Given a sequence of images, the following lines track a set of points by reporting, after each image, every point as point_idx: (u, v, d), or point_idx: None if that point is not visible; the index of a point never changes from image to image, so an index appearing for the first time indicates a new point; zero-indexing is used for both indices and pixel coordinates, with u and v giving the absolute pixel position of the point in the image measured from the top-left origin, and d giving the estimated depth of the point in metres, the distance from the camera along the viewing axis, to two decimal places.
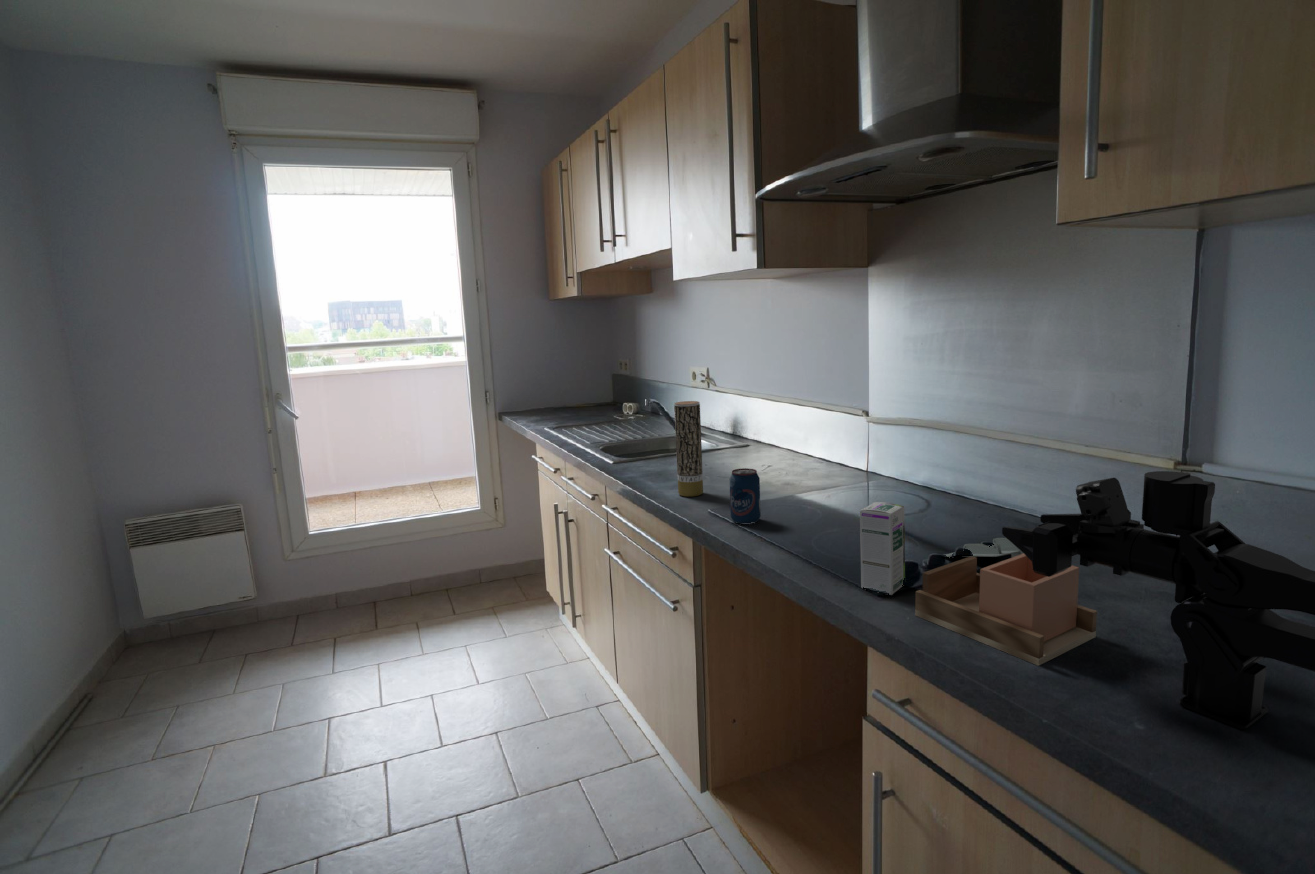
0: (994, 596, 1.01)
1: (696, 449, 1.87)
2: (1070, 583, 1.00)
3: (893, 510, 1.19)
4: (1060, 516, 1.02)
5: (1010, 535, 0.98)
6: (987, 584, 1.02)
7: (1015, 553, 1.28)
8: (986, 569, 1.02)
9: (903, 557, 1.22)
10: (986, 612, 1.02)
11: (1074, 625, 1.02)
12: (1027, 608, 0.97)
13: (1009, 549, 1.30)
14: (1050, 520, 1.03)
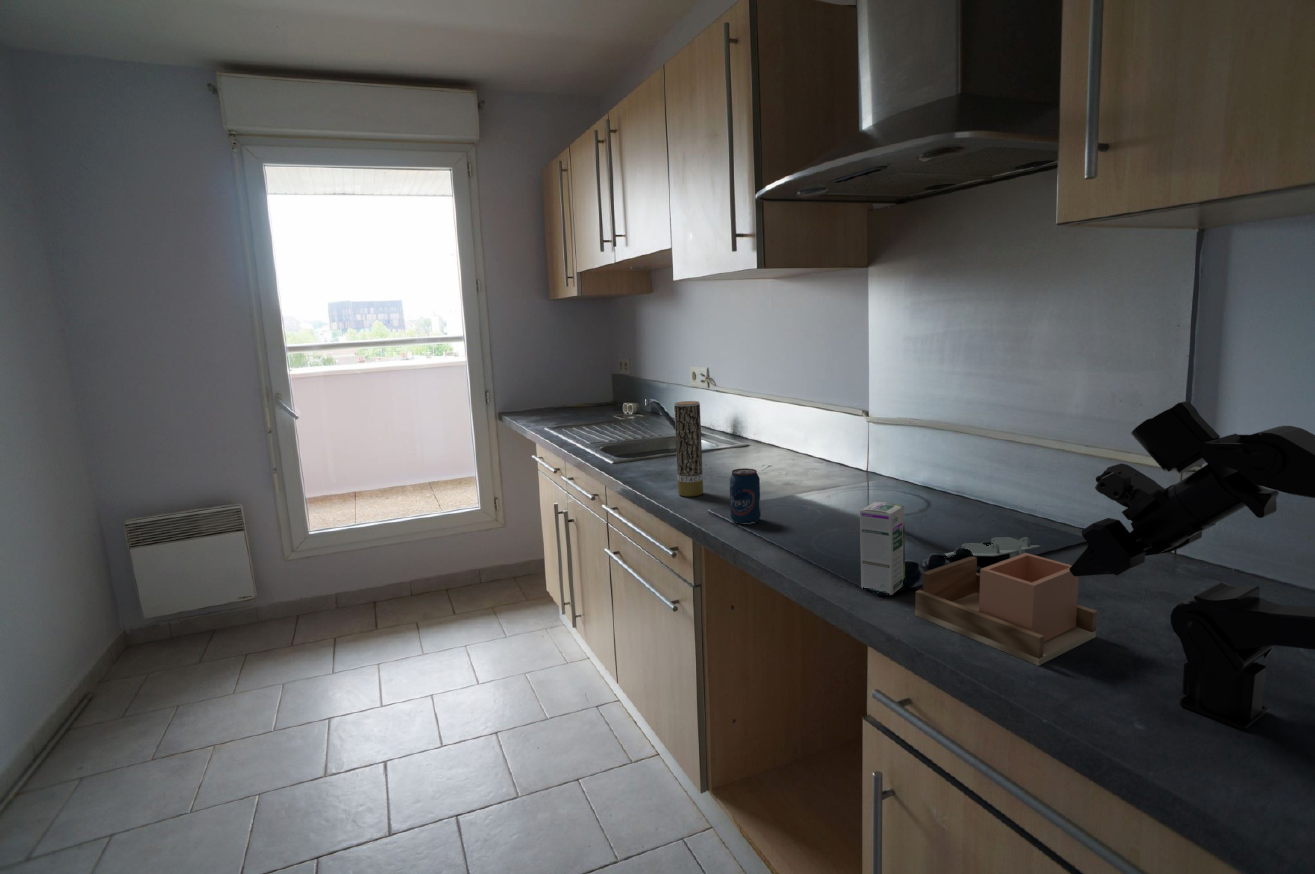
0: (994, 596, 1.01)
1: (696, 449, 1.87)
2: (1070, 583, 1.00)
3: (893, 510, 1.19)
4: None
5: (1079, 569, 0.90)
6: (987, 584, 1.02)
7: (1013, 552, 1.28)
8: (986, 569, 1.02)
9: (903, 557, 1.22)
10: (986, 612, 1.02)
11: (1074, 625, 1.02)
12: (1027, 608, 0.97)
13: (1007, 548, 1.30)
14: None
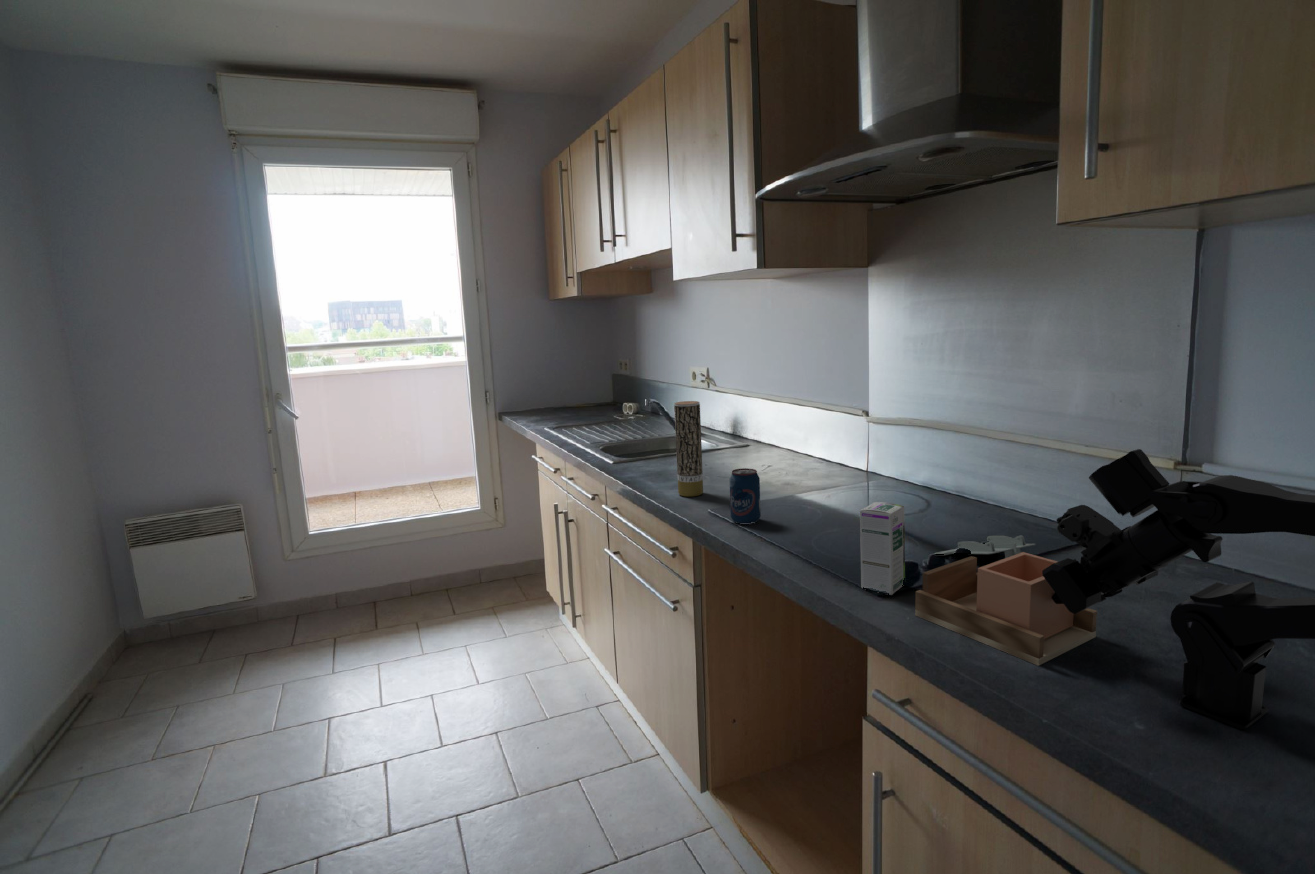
0: (991, 595, 1.01)
1: (696, 449, 1.87)
2: None
3: (893, 510, 1.19)
4: None
5: None
6: (984, 583, 1.02)
7: (1008, 551, 1.29)
8: (983, 568, 1.02)
9: (903, 557, 1.22)
10: (983, 611, 1.03)
11: (1071, 624, 1.03)
12: (1024, 607, 0.97)
13: (1002, 547, 1.31)
14: None
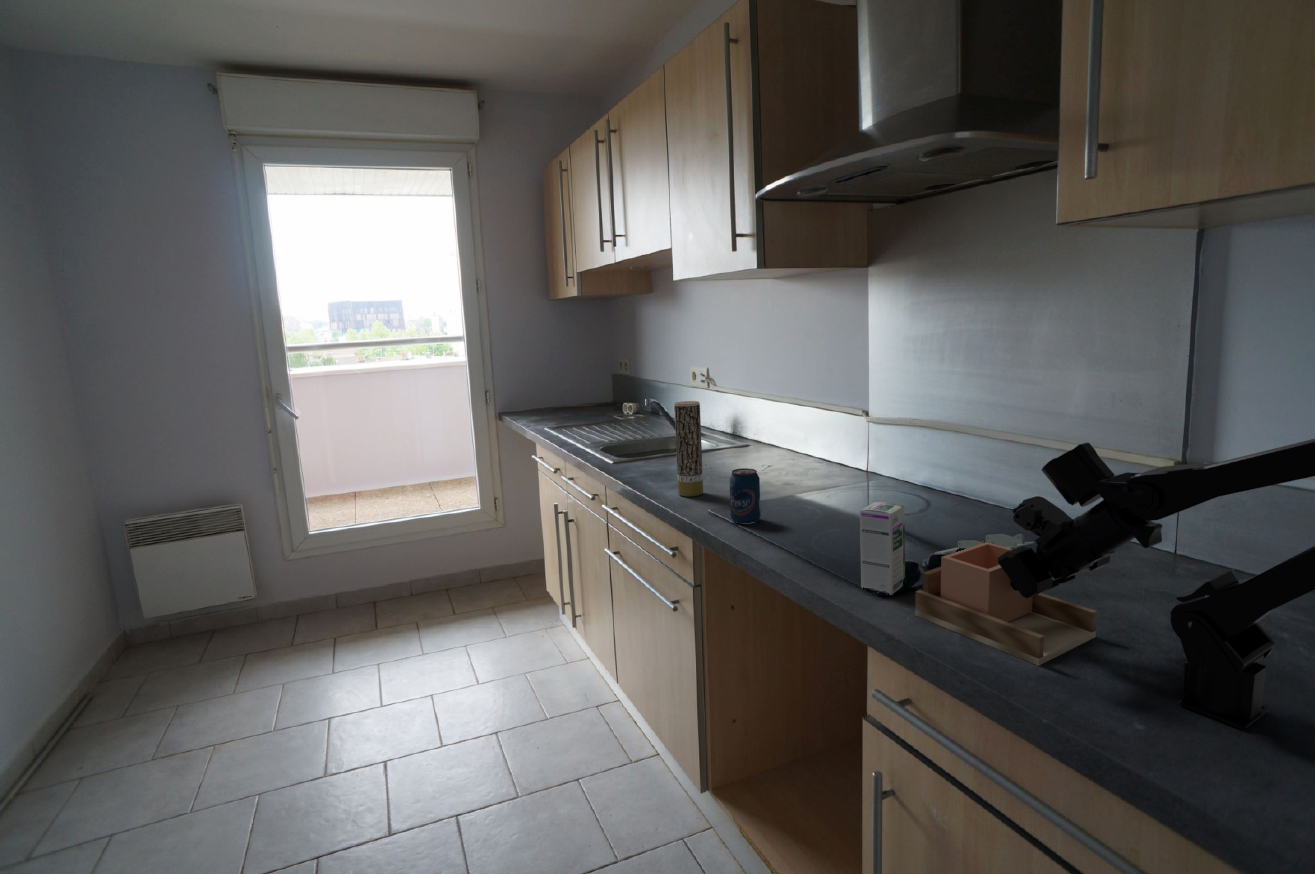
0: (954, 582, 1.07)
1: (696, 449, 1.87)
2: None
3: (893, 510, 1.19)
4: None
5: None
6: (947, 571, 1.07)
7: None
8: (947, 557, 1.08)
9: (903, 557, 1.22)
10: (947, 598, 1.08)
11: (1030, 610, 1.08)
12: (983, 593, 1.02)
13: (1003, 545, 1.32)
14: None
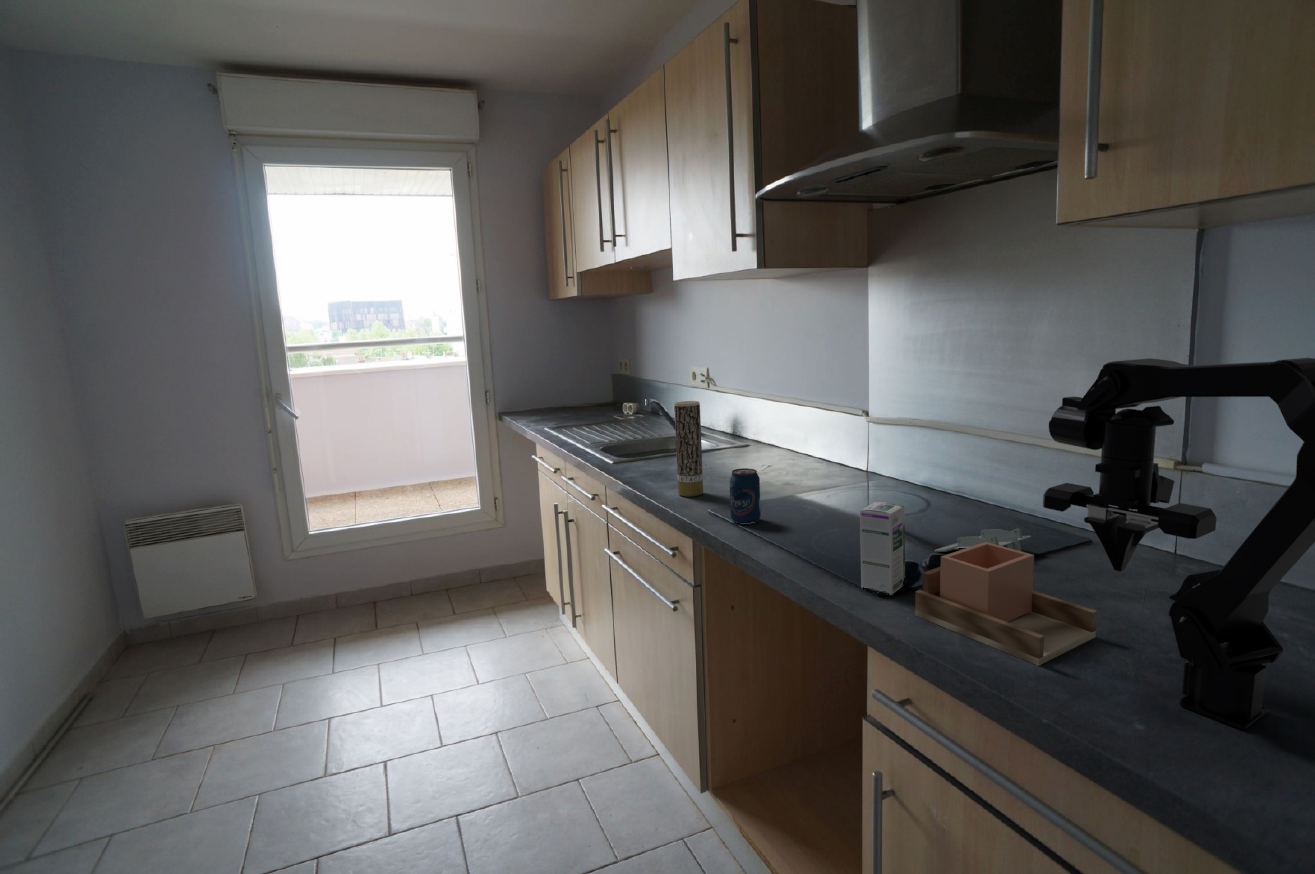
0: (953, 582, 1.07)
1: (696, 449, 1.87)
2: (1025, 570, 1.06)
3: (893, 510, 1.19)
4: None
5: None
6: (947, 571, 1.07)
7: (1010, 544, 1.33)
8: (946, 557, 1.08)
9: (903, 557, 1.22)
10: (946, 597, 1.08)
11: (1030, 610, 1.08)
12: (982, 593, 1.03)
13: (1002, 540, 1.35)
14: None
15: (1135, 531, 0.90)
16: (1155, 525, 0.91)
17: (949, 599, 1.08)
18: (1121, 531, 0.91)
